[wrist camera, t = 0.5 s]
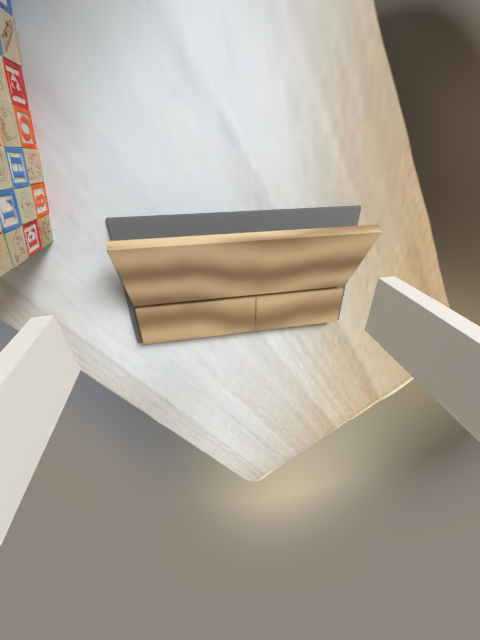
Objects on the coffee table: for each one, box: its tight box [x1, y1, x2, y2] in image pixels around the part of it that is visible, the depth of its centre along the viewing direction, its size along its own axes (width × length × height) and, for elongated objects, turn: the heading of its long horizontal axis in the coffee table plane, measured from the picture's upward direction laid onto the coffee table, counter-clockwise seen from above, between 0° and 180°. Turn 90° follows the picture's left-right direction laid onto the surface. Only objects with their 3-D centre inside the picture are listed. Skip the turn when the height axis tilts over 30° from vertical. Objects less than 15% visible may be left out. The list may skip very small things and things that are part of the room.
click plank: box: [107, 225, 382, 306], centre depth 32 cm, size 10×29×1 cm
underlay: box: [106, 206, 361, 343], centre depth 37 cm, size 17×31×1 cm, turn 91°
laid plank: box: [135, 286, 343, 344], centre depth 39 cm, size 6×29×1 cm, turn 91°
